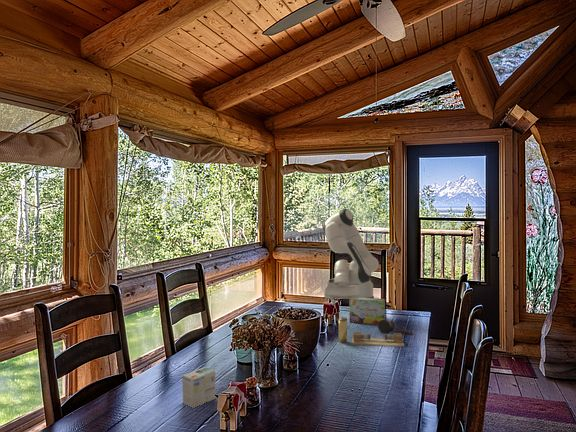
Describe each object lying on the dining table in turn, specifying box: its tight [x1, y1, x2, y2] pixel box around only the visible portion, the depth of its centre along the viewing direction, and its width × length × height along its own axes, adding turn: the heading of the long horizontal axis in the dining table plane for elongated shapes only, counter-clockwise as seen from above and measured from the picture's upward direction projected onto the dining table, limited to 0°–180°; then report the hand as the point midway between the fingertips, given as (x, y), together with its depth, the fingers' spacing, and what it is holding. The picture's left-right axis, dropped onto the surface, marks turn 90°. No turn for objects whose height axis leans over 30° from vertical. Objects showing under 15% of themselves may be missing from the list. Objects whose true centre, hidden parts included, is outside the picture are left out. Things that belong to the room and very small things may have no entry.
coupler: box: [338, 316, 348, 344], centre depth 228 cm, size 5×5×12 cm
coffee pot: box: [377, 319, 414, 336], centre depth 243 cm, size 8×18×8 cm
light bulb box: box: [181, 366, 217, 409], centre depth 159 cm, size 11×7×11 cm, turn 141°
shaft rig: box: [351, 331, 405, 347], centre depth 226 cm, size 10×26×5 cm, turn 83°
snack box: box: [348, 297, 386, 325], centre depth 265 cm, size 21×6×15 cm, turn 73°
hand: (342, 304), depth 240 cm, fingers open, 8 cm apart
